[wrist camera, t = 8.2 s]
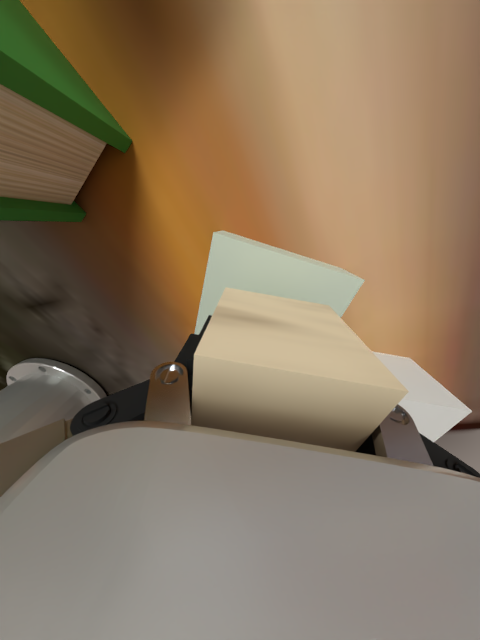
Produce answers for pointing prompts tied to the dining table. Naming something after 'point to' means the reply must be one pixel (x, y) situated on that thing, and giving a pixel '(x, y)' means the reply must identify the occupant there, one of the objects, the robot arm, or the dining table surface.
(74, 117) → the hardback book
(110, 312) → the dining table surface
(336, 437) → the maple cube
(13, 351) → the dining table surface
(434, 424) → the grey cube
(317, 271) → the base block
